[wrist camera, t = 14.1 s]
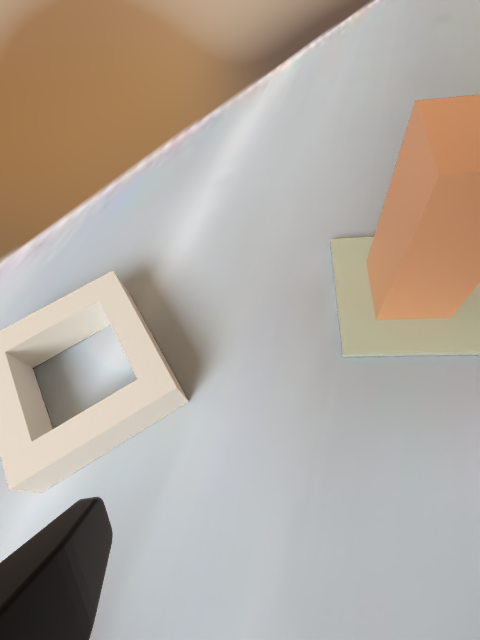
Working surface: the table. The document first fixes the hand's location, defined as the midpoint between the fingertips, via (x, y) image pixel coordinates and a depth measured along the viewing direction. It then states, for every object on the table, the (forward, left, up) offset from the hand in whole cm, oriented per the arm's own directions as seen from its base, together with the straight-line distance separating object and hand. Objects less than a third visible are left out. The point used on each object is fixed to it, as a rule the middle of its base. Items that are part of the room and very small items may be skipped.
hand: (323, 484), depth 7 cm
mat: (-1, -13, -11) cm, 17 cm away
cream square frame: (+13, 0, -11) cm, 17 cm away
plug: (-1, -13, -11) cm, 17 cm away
